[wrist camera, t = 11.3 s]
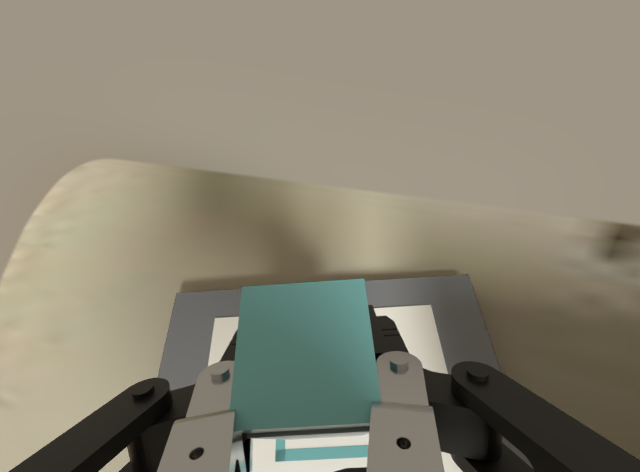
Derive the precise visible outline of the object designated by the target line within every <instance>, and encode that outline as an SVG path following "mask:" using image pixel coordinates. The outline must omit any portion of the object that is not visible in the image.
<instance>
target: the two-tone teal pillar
mask: <svg viewBox="0 0 640 472" xmlns="http://www.w3.org/2000/svg"><path fill="white" fill-rule="evenodd" d="M372 402H382V401H381V394H380V387H379V380H378V373H377V366H376V359H375V352H374V344H373V337H372V330H371V323H370V316H369V309H368V302H367V295H366V287H365V280H364V278H363V279H348V280H333V281H319V282H304V283H289V284H275V285H260V286H245V287H242V291H241V301H240V311H239V320H238V330H237V340H236V350H235V360H234V370H233V380H232V389H231V399H230V409H229V410H232V409H236V431H239V432H242V433H247V438H254V439H284V440H293V439H311V438H328V437H346V436H362V435H366V434H369V430H370V417H371V404H372Z"/></svg>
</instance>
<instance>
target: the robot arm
mask: <svg viewBox="0 0 640 472" xmlns="http://www.w3.org/2000/svg"><path fill="white" fill-rule="evenodd" d="M368 309H369V316H370V323H371V330H372V337H373V344H374V352H375V359H376V366H377V373H378V380H379V387H380V394H381V401H382V402H372V404H371V417H370V430H369V444H368V457H367V467H361V468H345V469H341V470H338V471H335V472H445V471H444V466H443V460H442V455H441V452H445V453H449V454H450V455H451V457H452V459H453V461H454V462H455V463H456V465H457V466H458V467H459V468H460V469H461V470H462V471H463V472H640V460H639V459H637V458H635V457H634V456H632V455H631V454H629V453H627V452H626V451H624V450H623V449H621V448H620V447H618V446H616V445H615V444H613V443H612V442H610V441H609V440H607V439H605V438H604V437H602V436H601V435H599V434H597V433H596V432H594V431H593V430H591V429H590V428H588V427H586V426H585V425H583V424H582V423H580V422H578V421H577V420H575V419H574V418H572V417H571V416H569V415H567V414H566V413H564V412H563V411H561V410H560V409H558V408H556V407H555V406H553V405H552V404H550V403H548V402H547V401H545V400H544V399H542V398H541V397H539V396H537V395H536V394H534V393H533V392H531V391H530V390H528V389H526V388H525V387H523V386H522V385H520V384H518V383H517V382H515V381H514V380H512V379H511V378H509V377H507V376H506V375H504V374H503V373H501V372H499V371H498V370H496V369H495V368H493V367H491V366H489V365H486V364H484V363H480V362H474V361H464V362H459V363H457V364H455V365H454V366H453V367H452V369H451V374H444V373H438V372H433V371H429V370H427V369H424V368H423V367H422V363H421V361H420V360H419V359H418V358H417V357H416V356H414V355H412V354H410V353H409V352H408V350H407V348H406V345H405V343H404V341H403V339H402V337H401V336H400V333H399V331H398V329H397V326H396V324H395V322H394V321H393V320H392V319H390V318H389V317H387V316H376V313H375V311H374V308H373V305H368ZM236 340H237V330H236V332H235V334H234V336H233V338H232V339H231V341H230V343H229V346H228V347H227V349H226V350H225V352H224V354H223V356H222V358H221V360H220V361H219V362H217V363H214V364H212V365H210V366H208V367H207V368H205V369H204V370H203V371H202V372H201V373H200V374H199V375H198V378H197V381H196V384H193V385H190V386H186V387H183V388H179V389H175V390H171V389H170V384H169V382H168V380H166V379H164V378H151V379H147V380H144V381H141V382H138V383H136V384H134V385H132V386H131V387H129V388H128V389H126V390H125V391H123V392H122V393H120V394H119V395H118V396H116V397H115V398H113V399H112V400H110V401H109V402H108V403H106V404H105V405H103V406H102V407H100V408H99V409H98V410H96V411H95V412H93V413H92V414H90V415H89V416H88V417H86V418H85V419H83V420H82V421H80V422H79V423H78V424H76V425H75V426H73V427H72V428H70V429H69V430H68V431H66V432H65V433H63V434H62V435H60V436H59V437H58V438H56V439H55V440H53V441H52V442H50V443H49V444H48V445H46V446H45V447H43V448H42V449H40V450H39V451H38V452H36V453H35V454H33V455H32V456H30V457H29V458H28V459H26V460H25V461H23V462H22V463H20V464H19V465H17V466H16V467H15V468H13V469H12V470H10V471H9V472H98V471H99V470H100V469H102V468H103V467H104V466H105V465H106V464H107V463H108V462H110V461H111V460H112V459H113V458H114V457H115V456H116V455H118V454H119V453H120V452H121V451H122V450H123V449H124V448H126V447H127V448H128V453H129V457H130V462H129V463H127V464H126V465H125V466H124V467H123V468H122V469H121V470H120V471H119V472H252V451H253V440H252V438H247V433H242V432H239V431H236V409H232V410H229V409H230V399H231V389H232V380H233V370H234V360H235V350H236ZM503 437H504V438H505V439H506V440H508V441H509V442H510V443H511V444H512V445H514V446H515V447H516V448H517V449H518V450H520V451H521V452H522V453H523V454H524V455H525V456H526V458H527V459H528V460H529V462H530V463H531V465H532V467H533V468H531V467H530V466H529V465H528V464H527V463H526V462H524V461H523V460H522V459H521V458H520V457H519V456H517V455H516V454H515V453H514V452H513V451H512V450H510V449H509V448H508V447H507V446H506V445H505V444H503V443H502V438H503Z"/></svg>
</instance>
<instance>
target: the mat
mask: <svg viewBox="0 0 640 472" xmlns="http://www.w3.org/2000/svg"><path fill="white" fill-rule="evenodd" d="M365 287H366V295H367V302H368V305H373V308H374V311H375V313H376V316H387V317H389V318H390V319H392V320H393V321H394V322H395V324H396V326H397V329H398V331H399V333H400V336H401V337H402V339H403V341H404V343H405V345H406V348H407V350H408V352H409V353H410V354H412V355H414V356H416V357H417V358H418V359H419V360H420V361H421V363H422V367H423V368H424V369H427V370H429V371H433V372H438V373H444V374H451V369H452V367H453V366H454V365H455V364H457V363H459V362H464V361H474V362H480V363H484V364H486V365H489V366H491V367H493V368H495V369H496V370H498V371H499V372H501V370H500V367H499V364H498V361H497V359H496V356H495V353H494V350H493V347H492V344H491V341H490V338H489V335H488V332H487V329H486V326H485V323H484V320H483V317H482V314H481V311H480V308H479V305H478V302H477V299H476V296H475V293H474V290H473V287H472V284H471V281H470V278H469V276H468V274H463V275H447V276H432V277H416V278H401V279H385V280H369V281H365ZM241 291H242V289H229V290H214V291H198V292H183V293H177V294H176V298H175V303H174V307H173V312H172V316H171V320H170V325H169V329H168V334H167V338H166V343H165V347H164V352H163V356H162V361H161V365H160V369H159V374H158V378H164V379H166V380H168V382H169V384H170V389H171V390H175V389H179V388H183V387H186V386H190V385H193V384H196V381H197V378H198V375H199V374H200V373H201V372H202V371H203V370H204V369H205V368H207V367H208V366H210V365H212V364H214V363H217V362H219V361H220V360H221V358H222V356H223V354H224V352H225V350H226V349H227V347H228V346H229V343H230V341H231V339H232V338H233V336H234V334H235V332H236V330H238V320H239V311H240V301H241ZM252 440H253V451H252V472H335V471H338V470H341V469H345V468H361V467H367V457H368V444H369V434H366V435H362V436H346V437H328V438H311V439H293V440H284V439H254V438H252ZM502 443H503V444H505V445H506V446H507V447H508V448H509V449H510V450H512V451H513V452H514V453H515V454H516V455H517V456H519V457H520V458H521V459H522V460H523V461H524V462H526V463H527V464H528V465H529V466H530V467H531V468H533V467H532V465H531V463H530V462H529V460H528V459H527V458H526V456H525V455H524V454H523V453H522V452H521V451H520V450H518V449H517V448H516V447H515V446H514V445H512V444H511V443H510V442H509V441H508V440H506V439H505V438H504V437H503V438H502ZM441 455H442V460H443V466H444V471H445V472H463V471H462V470H461V469H460V468H459V467H458V466H457V465H456V463H455V462H454V461H453V459H452V457H451V455H450V454H449V453H445V452H441Z"/></svg>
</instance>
